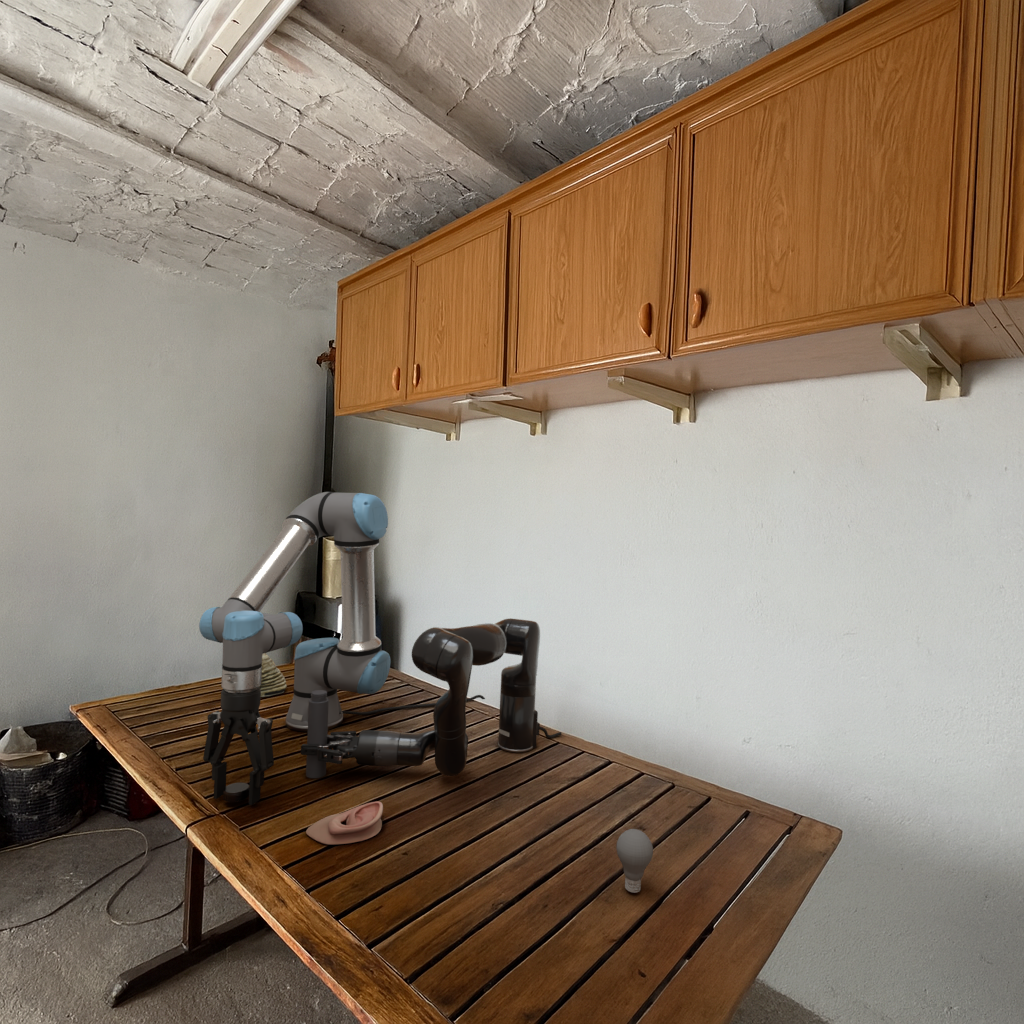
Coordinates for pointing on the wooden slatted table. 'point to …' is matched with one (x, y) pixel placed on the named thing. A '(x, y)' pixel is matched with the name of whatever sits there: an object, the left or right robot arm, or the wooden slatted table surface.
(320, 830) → the anatomical model
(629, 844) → the light bulb
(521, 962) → the wooden slatted table surface
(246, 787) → the lid
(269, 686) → the fossil
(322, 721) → the bottle
